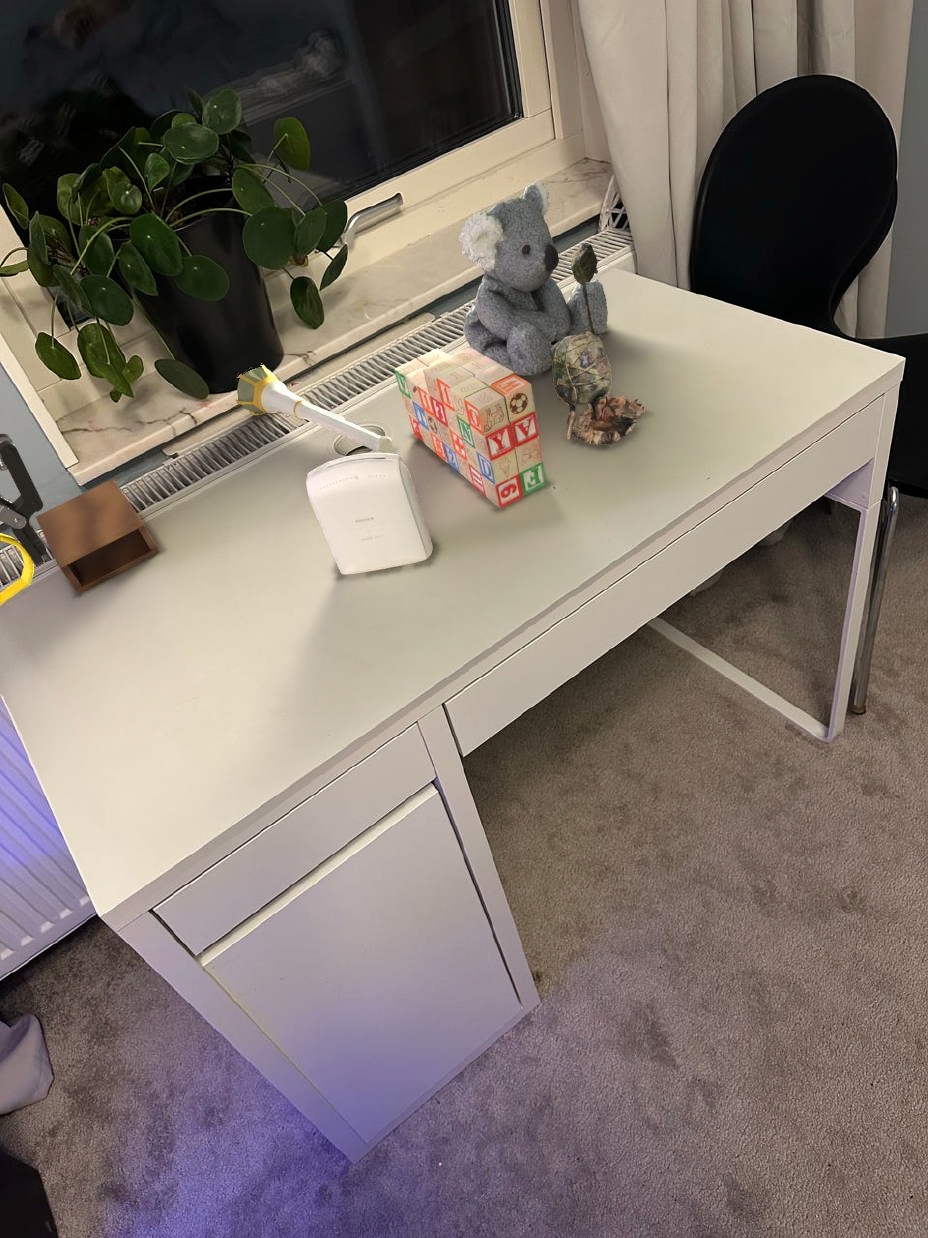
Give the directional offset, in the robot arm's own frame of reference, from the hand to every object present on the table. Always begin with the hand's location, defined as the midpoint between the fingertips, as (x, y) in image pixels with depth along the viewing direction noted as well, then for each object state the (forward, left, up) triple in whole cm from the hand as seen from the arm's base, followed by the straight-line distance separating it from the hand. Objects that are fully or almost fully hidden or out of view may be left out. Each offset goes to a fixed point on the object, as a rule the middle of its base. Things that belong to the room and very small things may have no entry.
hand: (0, 579), depth 70 cm
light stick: (+38, +29, -16) cm, 51 cm away
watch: (0, 0, -2) cm, 2 cm away
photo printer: (+31, -3, -16) cm, 35 cm away
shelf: (+8, +26, -16) cm, 32 cm away
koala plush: (+69, +23, -16) cm, 75 cm away
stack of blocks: (+48, +5, -16) cm, 51 cm away
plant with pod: (+61, -2, -16) cm, 63 cm away
